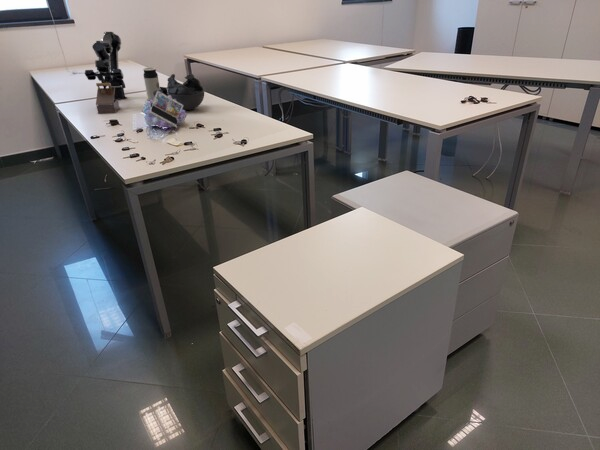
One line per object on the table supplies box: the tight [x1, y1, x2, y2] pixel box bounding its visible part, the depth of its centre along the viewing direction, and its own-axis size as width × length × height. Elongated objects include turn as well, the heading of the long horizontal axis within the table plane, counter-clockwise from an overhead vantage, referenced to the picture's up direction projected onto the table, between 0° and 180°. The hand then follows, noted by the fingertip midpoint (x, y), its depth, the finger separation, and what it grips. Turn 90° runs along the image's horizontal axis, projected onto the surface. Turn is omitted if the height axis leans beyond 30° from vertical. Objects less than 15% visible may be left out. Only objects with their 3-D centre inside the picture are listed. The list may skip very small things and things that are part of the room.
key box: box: [95, 99, 120, 115], centre depth 231 cm, size 11×9×5 cm
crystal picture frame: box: [142, 90, 187, 131], centre depth 204 cm, size 20×22×18 cm
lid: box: [95, 82, 115, 105], centre depth 226 cm, size 12×9×6 cm
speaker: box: [153, 86, 168, 97], centre depth 239 cm, size 8×6×10 cm
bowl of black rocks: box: [166, 73, 205, 111], centre depth 230 cm, size 20×20×19 cm
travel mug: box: [142, 67, 161, 101], centre depth 250 cm, size 8×8×18 cm
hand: (104, 87), depth 227 cm, fingers closed, pressing on lid
